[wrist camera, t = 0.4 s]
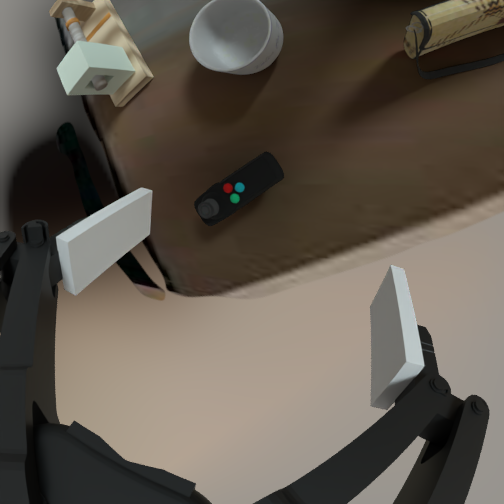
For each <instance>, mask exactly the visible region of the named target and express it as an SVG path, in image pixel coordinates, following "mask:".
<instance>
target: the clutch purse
mask: <svg viewBox="0 0 504 504" xmlns="http://www.w3.org/2000/svg"><path fill="white" fill-rule="evenodd" d="M410 14H411V15H412V18H411V21H410V24H409V26H407V27H406V30H407V32H406V35H405V38H404V48H405V51H406V53H407V55H408V56H409V57H410V58H412V59H416V62H417V67H418V72H419V74H420V76H421V77H422V78H424V79H434V78H438V77H442V76H446V75H450V74H455V73H459V72H463V71H468V70H472V69H477V68H481V67H485V66H489V65H493V64H496V63H499V62H502V61H504V54H502V55H498V56H495V57H492V58H488V59H484V60H480V61H476V62H471V63H467V64H462V65H457V66H453V67H448V68H444V69H440V70H436V71H431V72H424V71H422V70H421V69H420V68H419V66H418V57H419V56H421V55H423V54H425V53H428V52H430V51H433V50H435V49H438V48H440V47H443V46H446V45H448V44H451V43H454V42H456V41H459V40H462V39H464V38H467V37H470V36H473V35H476V34H479V33H482V32H485V31H488V30H491V29H494V28H497V27H501V26H504V0H447V1H444V2H441V3H438V4H435V5H432V6H429V7H426V8H424V9H421V10H417V11H413V12H412V13H410ZM407 28H408V29H407Z"/></svg>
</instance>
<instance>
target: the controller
mask: <svg viewBox="0 0 504 504" xmlns="http://www.w3.org/2000/svg"><path fill="white" fill-rule="evenodd" d="M283 178H284V173H283V170H282V168H281V167H280V165H279V163H278V162H277V160H276V159H275V158H274V156H273V155H272V154H271V153H269V152H264V153H262V154H261V155H259V156H258V157H256V158H255V159H253V160H252V161H250V162H249V163H247V164H246V165H244V166H242V167H241V168H240V169H238V170H237V171H235V172H234V173H232V174H231V175H229V176H228V177H226V178H225V179H223V180H222V181H221V182H219V183H216V184H214V185H213V186H211V187H210V188H209V189H208V190H207V191H206V192H204V193H203V194H202V195H201V196H200V197H199V198H198V199H197V200H196V201H195V203H194V206H195V209H196V211H197V213H198V214H199V216H200V217H201V219H202V220H203V221H204V223H205V224H207V225H208V226H212V225H215V224H216V223H218V222H220V221H222V220H223V219H225V218H227V217H229V216H230V215H232V214H233V213H235V212H236V211H237V210H239V209H240V208H242V207H243V206H245V205H246V204H248V203H249V202H250V201H252V200H253V199H255V198H256V197H258V196H259V195H260V194H262V193H263V192H265V191H266V190H268V189H269V188H270V187H272V186H273V185H275V184H276V183H278V182H279V181H281V180H282V179H283Z"/></svg>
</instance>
